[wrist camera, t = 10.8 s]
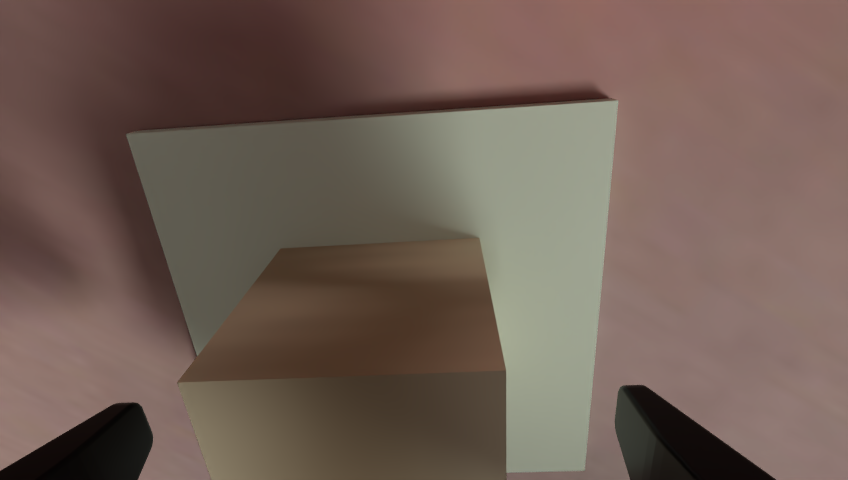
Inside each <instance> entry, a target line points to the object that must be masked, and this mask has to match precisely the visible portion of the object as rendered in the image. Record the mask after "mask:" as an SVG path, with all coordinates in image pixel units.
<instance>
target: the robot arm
mask: <svg viewBox="0 0 848 480" xmlns="http://www.w3.org/2000/svg"><path fill="white" fill-rule="evenodd" d="M615 429H616V434H617V437H618V441H619V444H620V447H621V451H622V454H623V457H624V460H625V464H626V467H627V470H628V474H629V477H630V480H776V479H775V478H773V477H772V476H770V475H769V474H768V473H766V472H765V471H763V470H762V469H761V468H759V467H758V466H756V465H755V464H754V463H752V462H751V461H749V460H748V459H747V458H745V457H744V456H742V455H741V454H740V453H738V452H737V451H735V450H734V449H733V448H731V447H730V446H728V445H727V444H726V443H724V442H723V441H722V440H720V439H719V438H717V437H716V436H715V435H713V434H712V433H710V432H709V431H708V430H706V429H705V428H703V427H702V426H701V425H699V424H698V423H696V422H695V421H694V420H692V419H691V418H689V417H688V416H687V415H685V414H684V413H682V412H681V411H680V410H678V409H677V408H675V407H674V406H673V405H671V404H670V403H669V402H667V401H666V400H664V399H663V398H662V397H660V396H659V395H657V394H656V393H655V392H653V391H652V390H650V389H649V388H647V387H646V386H643V385H624V386H622V387H620V389H619V391H618V398H617V406H616V415H615ZM152 443H153V434H152V431H151V428H150V426H149V423H148V421H147V418H146V416H145V413H144V411H143V408H142V407H141V406H140V405H139V404H138V403H134V402H132V403H116V404H113V405H111V406H110V407H108V408H106V409H105V410H103V411H101V412H99V413H98V414H96V415H94V416H93V417H91V418H89V419H88V420H86V421H84V422H82V423H81V424H79V425H77V426H76V427H74V428H72V429H71V430H69V431H67V432H65V433H64V434H62V435H60V436H59V437H57V438H55V439H54V440H52V441H50V442H48V443H47V444H45V445H43V446H42V447H40V448H38V449H37V450H35V451H33V452H31V453H30V454H28V455H26V456H25V457H23V458H21V459H20V460H18V461H16V462H14V463H13V464H11V465H9V466H8V467H6V468H4V469H3V470H1V471H0V480H138V478H139V476H140V473H141V471H142V469H143V466H144V464H145V462H146V459H147V457H148V455H149V452H150V450H151V447H152Z"/></svg>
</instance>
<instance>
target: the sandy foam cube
mask: <svg viewBox="0 0 848 480" xmlns="http://www.w3.org/2000/svg"><path fill="white" fill-rule="evenodd" d="M177 384H178V386H179V389H180V392H181V395H182V398H183V401H184V404H185V406H186V409H187V412H188V415H189V418H190V421H191V423H192V426H193V429H194V432H195V435H196V438H197V440H198V443H199V446H200V449H201V452H202V455H203V458H204V460H205V463H206V466H207V469H208V472H209V475H210V477H211V480H506V367H505V362H504V357H503V352H502V347H501V342H500V337H499V332H498V327H497V322H496V318H495V313H494V308H493V303H492V298H491V293H490V288H489V283H488V278H487V273H486V268H485V263H484V258H483V253H482V248H481V243H480V239H479V238H467V239H448V240H429V241H411V242H392V243H373V244H354V245H335V246H317V247H298V248H281V249H280V250H279V251H278V252H277V254H276V255H275V256H274V258H273V259H272V260H271V262H270V263H269V264H268V265H267V267H266V268H265V269H264V271H263V272H262V273H261V275H260V276H259V277H258V278H257V280H256V281H255V282H254V284H253V285H252V286H251V287H250V289H249V290H248V291H247V293H246V294H245V295H244V297H243V298H242V299H241V300H240V302H239V303H238V304H237V306H236V307H235V308H234V310H233V311H232V312H231V313H230V315H229V316H228V317H227V319H226V320H225V321H224V323H223V324H222V325H221V326H220V328H219V329H218V330H217V332H216V333H215V334H214V335H213V337H212V338H211V339H210V341H209V342H208V343H207V345H206V346H205V347H204V348H203V350H202V351H201V352H200V354H199V355H198V356H197V358H196V359H195V360H194V361H193V363H192V364H191V365H190V367H189V368H188V369H187V370H186V372H185V373H184V374H183V376H182V377H181V378H180V380H179V381H178V382H177Z"/></svg>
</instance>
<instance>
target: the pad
mask: <svg viewBox="0 0 848 480" xmlns="http://www.w3.org/2000/svg"><path fill="white" fill-rule="evenodd" d="M617 110H618V100H615V99H612V98H607V99H592V100H578V101H563V102H549V103H534V104H519V105H505V106H490V107H476V108H461V109H446V110H432V111H417V112H403V113H388V114H373V115H359V116H344V117H330V118H315V119H300V120H286V121H271V122H257V123H242V124H227V125H213V126H198V127H184V128H169V129H154V130H140V131H135V132H131V133H128V134H126V136H127V139H128V143H129V146H130V149H131V152H132V155H133V158H134V161H135V164H136V168H137V171H138V174H139V177H140V180H141V183H142V186H143V189H144V192H145V196H146V199H147V202H148V205H149V208H150V211H151V214H152V217H153V221H154V224H155V227H156V230H157V233H158V236H159V239H160V242H161V245H162V249H163V252H164V255H165V258H166V261H167V264H168V267H169V270H170V274H171V277H172V280H173V283H174V286H175V289H176V292H177V295H178V298H179V302H180V305H181V308H182V311H183V314H184V317H185V320H186V323H187V327H188V330H189V333H190V336H191V339H192V342H193V345H194V348H195V351H196V355H197V356H198V355H199V354H200V352H201V351H202V350H203V348H204V347H205V346H206V345H207V343H208V342H209V341H210V339H211V338H212V337H213V335H214V334H215V333H216V332H217V330H218V329H219V328H220V326H221V325H222V324H223V323H224V321H225V320H226V319H227V317H228V316H229V315H230V313H231V312H232V311H233V310H234V308H235V307H236V306H237V304H238V303H239V302H240V300H241V299H242V298H243V297H244V295H245V294H246V293H247V291H248V290H249V289H250V287H251V286H252V285H253V284H254V282H255V281H256V280H257V278H258V277H259V276H260V275H261V273H262V272H263V271H264V269H265V268H266V267H267V265H268V264H269V263H270V262H271V260H272V259H273V258H274V256H275V255H276V254H277V252H278V251H279V250H280V249H281V248H298V247H317V246H335V245H354V244H373V243H392V242H411V241H429V240H448V239H467V238H479V239H480V243H481V248H482V253H483V258H484V263H485V268H486V273H487V278H488V283H489V288H490V293H491V298H492V303H493V308H494V313H495V318H496V322H497V327H498V332H499V337H500V342H501V347H502V352H503V357H504V362H505V367H506V473H512V472H554V471H585V461H586V450H587V439H588V428H589V417H590V406H591V395H592V384H593V373H594V362H595V351H596V340H597V329H598V318H599V307H600V296H601V285H602V274H603V263H604V252H605V241H606V230H607V219H608V209H609V198H610V187H611V176H612V165H613V154H614V143H615V132H616V121H617Z"/></svg>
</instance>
